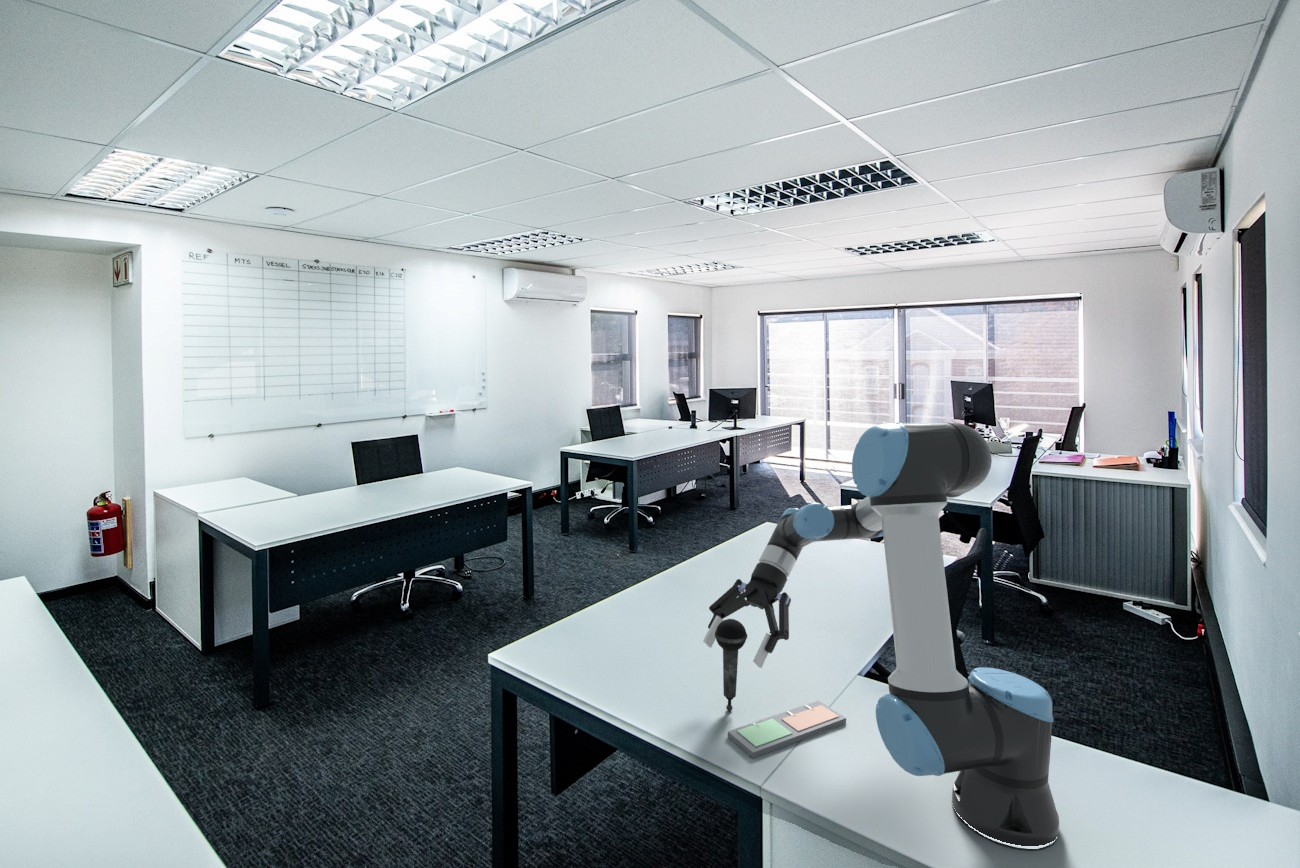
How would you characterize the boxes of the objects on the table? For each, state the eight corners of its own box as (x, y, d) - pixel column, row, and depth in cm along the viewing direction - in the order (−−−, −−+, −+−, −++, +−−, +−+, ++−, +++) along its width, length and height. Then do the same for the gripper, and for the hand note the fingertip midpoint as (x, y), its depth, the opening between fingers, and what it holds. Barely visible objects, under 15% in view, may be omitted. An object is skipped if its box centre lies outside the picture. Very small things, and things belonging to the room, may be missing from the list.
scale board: (846, 723, 129) (846, 717, 129) (752, 758, 118) (753, 751, 118) (818, 705, 136) (818, 699, 136) (727, 736, 125) (727, 730, 125)
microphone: (744, 703, 138) (746, 614, 136) (746, 720, 131) (748, 627, 129) (713, 701, 138) (714, 613, 136) (713, 718, 131) (714, 625, 130)
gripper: (827, 591, 137) (787, 682, 128) (736, 567, 154) (695, 644, 146) (815, 573, 132) (772, 665, 124) (722, 550, 150) (680, 629, 141)
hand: (731, 654), depth 135 cm, fingers open, 13 cm apart
